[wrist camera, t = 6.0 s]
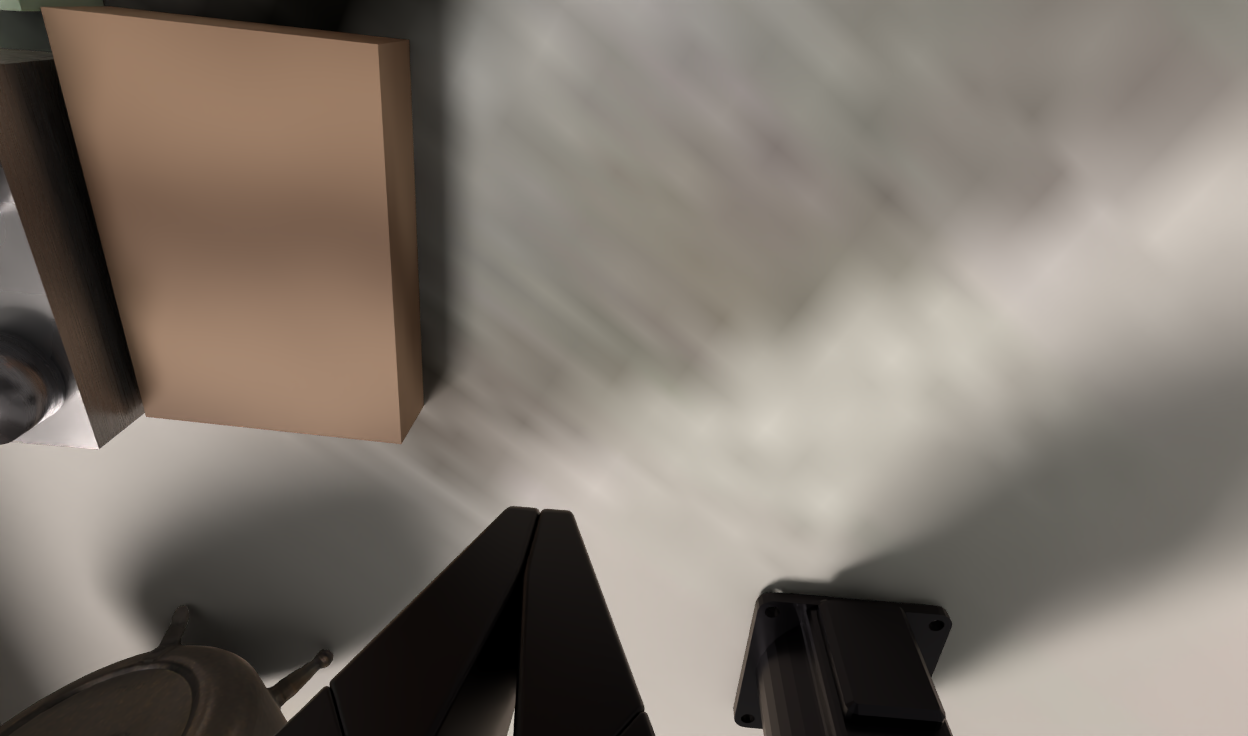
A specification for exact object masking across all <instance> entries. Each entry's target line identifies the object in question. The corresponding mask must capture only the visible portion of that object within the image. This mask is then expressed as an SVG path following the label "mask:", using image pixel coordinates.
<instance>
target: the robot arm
mask: <svg viewBox="0 0 1248 736" xmlns="http://www.w3.org/2000/svg"><path fill="white" fill-rule="evenodd" d="M769 607H775V608H770V609H769ZM935 620H936V621H935ZM933 621H934V622H933ZM951 627H952V622H951V620H950V617H949V615H948V613H947V611H946V610H945V609H944V608H943V607H940V606H934V605H922V604H909V603H897V602H885V601H873V600H861V599H849V598H836V597H824V596H812V595H800V594H788V593H775V592H770V593H765V594H762V595H761V596H760V597H758V599H757V601H756V604H755V608H754V613H753V618H752V623H751V627H750V632H749V637H748V641H747V646H746V651H745V655H744V660H743V665H742V670H741V674H740V679H739V684H738V688H737V693H736V698H735V703H734V707H733V710H734V720H735V722H736V723H737V724H738V725H739V726H742V727H747V728H759V729H763V733H764V736H953V735H952V733H951V730H950V728H949V725H948V723H947V720H946V716H945V711H944V709H943V706H942V704H941V701H940V699H939V696H938V694H937V691H936V689H935V686H934V684H933V681H932V679H931V677H932V674H933V672H934V669H935V667H936V664H937V662H938V659H939V657H940V654H941V652H942V649H943V647H944V644H945V642H946V639H947V637H948V634H949V632H950V629H951ZM514 708H515V715H514V733H513V736H655V733H654V731H653V728H652V725H651V723H650V720H649V717H648V715H647V713H646V712H644V705H643V702H642V699H641V696H640V694H639V691H638V688H637V686H636V683H635V680H634V677H633V675H632V672H631V669H630V667H629V664H628V661H627V659H626V656H625V653H624V650H623V648H622V645H621V642H620V640H619V637H618V634H617V631H616V629H615V626H614V623H613V621H612V618H611V615H610V612H609V610H608V607H607V604H606V602H605V599H604V596H603V593H602V591H601V588H600V585H599V583H598V580H597V577H596V574H595V572H594V569H593V566H592V564H591V561H590V558H589V556H588V553H587V550H586V547H585V545H584V542H583V539H582V537H581V534H580V531H579V528H578V526H577V523H576V520H575V518H574V515H573V514H572V512H570V511H568V510H555V509H544V510H542V511H541V512H539V510H538V509H537V508H530V507H517V506H511V507H508V508H507V509H505V510H504V511H503V512H502V513H501V514H500V515H499V516H498V517H497V518H496V519H495V520H494V521H493V522H492V523H491V524H490V525H489V526H488V527H487V528H486V529H485V530H484V531H483V532H482V533H481V534H480V535H479V536H478V537H477V538H476V539H475V540H474V541H473V542H472V543H471V544H470V545H469V546H468V547H467V548H466V549H465V550H464V551H463V552H462V553H460V554H459V555H458V556H457V557H456V558H455V559H454V560H453V561H452V562H451V563H450V564H449V565H448V566H447V567H446V568H445V569H444V570H443V571H442V572H441V573H440V574H439V575H438V576H437V577H436V578H435V579H434V580H433V581H432V582H431V583H430V584H429V585H428V586H427V587H426V588H425V589H424V590H423V591H422V592H421V593H420V594H419V595H418V596H417V597H416V598H415V599H414V600H413V601H412V602H411V603H410V604H408V605H407V606H406V607H405V608H404V609H403V610H402V611H401V612H400V613H399V614H398V615H397V616H396V617H395V618H394V619H393V620H392V621H391V622H390V623H389V624H388V625H387V626H386V627H385V628H384V629H383V630H382V631H381V632H380V633H379V634H378V635H377V636H376V637H375V638H374V639H373V640H372V641H371V642H370V643H369V644H368V645H367V646H366V647H365V648H364V649H363V650H362V651H361V652H360V653H359V654H357V655H356V656H355V657H354V658H353V659H352V660H351V661H350V662H349V663H348V664H347V665H346V666H345V667H344V668H343V669H342V670H341V671H340V672H339V673H338V674H337V675H336V676H335V677H334V678H333V679H332V680H331V681H330V687H328V686H325V687H323V688H322V689H321V690H320V691H319V692H318V693H317V694H316V695H315V696H314V697H313V698H312V699H311V700H310V701H309V702H308V703H307V704H306V705H305V706H304V707H303V708H302V709H301V710H300V711H299V712H298V713H297V714H296V715H295V716H294V717H292V718H291V719H290V720H289V721H288V722H287V723H286V724H285V725H284V726H283V727H282V728H281V729H280V730H279V731H277V732H276V733H275V734H274V735H273V736H507V733H508V730H509V726H510V723H511V719H512V715H513V712H514Z"/></svg>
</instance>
